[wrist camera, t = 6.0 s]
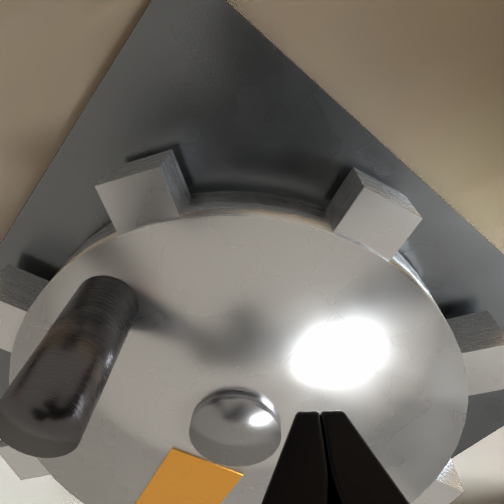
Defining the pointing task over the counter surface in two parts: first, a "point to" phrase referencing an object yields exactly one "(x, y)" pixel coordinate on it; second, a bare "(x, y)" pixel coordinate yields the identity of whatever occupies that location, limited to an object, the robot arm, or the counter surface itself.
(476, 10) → the counter surface
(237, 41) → the cover plate
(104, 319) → the sprocket
